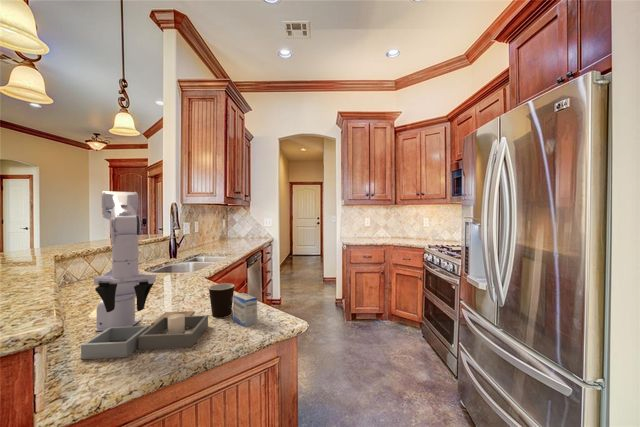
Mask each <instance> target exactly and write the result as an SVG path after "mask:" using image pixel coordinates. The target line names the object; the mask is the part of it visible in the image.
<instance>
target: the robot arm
mask: <svg viewBox="0 0 640 427" xmlns="http://www.w3.org/2000/svg"><path fill="white" fill-rule="evenodd" d="M138 208H139V194H138V192H137V191H134V192H133V191H132V192H131V191H114V190H113V191H111V190H110V191H109V190H108V191H107V190H103V191H102V192H101V209H102V212H101V213H102V216H103V218H104V219H106V220H109V233H110V238H111V244H112V248H111V252H112V253H111V255H112V256H111V258H112V259H111V266H112V267H111V268H110V269H108V270H107V271H106V272H104V273H103V275H98V276H96V277H93V285H94V286H95V289H94V290H95V292H96V293H97V294H98V296H99V297H100V299H101V300H100V301H99V302H98V304H97V306H96V328H95V329H94V332H103V331H105V330H106V329H108V328H109V327H126V326H136V324H138V323H140V321H142V318H136V311H137V312H141V311H143V310H144V309H145V306H146V302H147V298H148V295H149V293H150V291H151V290H152V287H153V286H154V283H156V281H157V277H156V275H157V274H145V273H144V274H143V273H142V274H141V273H140V271H139V237H140V234H141V230H142V229H141V227H142V226H141V225H142V224H141V218H140V215H139V214H138Z"/></svg>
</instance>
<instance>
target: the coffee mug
mask: <svg viewBox="0 0 640 427" xmlns="http://www.w3.org/2000/svg"><path fill="white" fill-rule="evenodd" d="M208 292H209V293H208V294H209V301H210V307H211V308H210V309H211V316H212V317H213V318H214V319H222V318H223V319H224V318H227V317H229V316H231V315H232V313H233V296H234V295H235V294H234V293H235V284H233V283H227V282H226V283H216V284H213V285H210V286H209V287H208Z"/></svg>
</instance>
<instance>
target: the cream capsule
mask: <svg viewBox="0 0 640 427" xmlns="http://www.w3.org/2000/svg"><path fill="white" fill-rule="evenodd" d="M179 333H186V328H185V315H184V314H174V315H171V316H169V317H168V329H167V334H179Z"/></svg>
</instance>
